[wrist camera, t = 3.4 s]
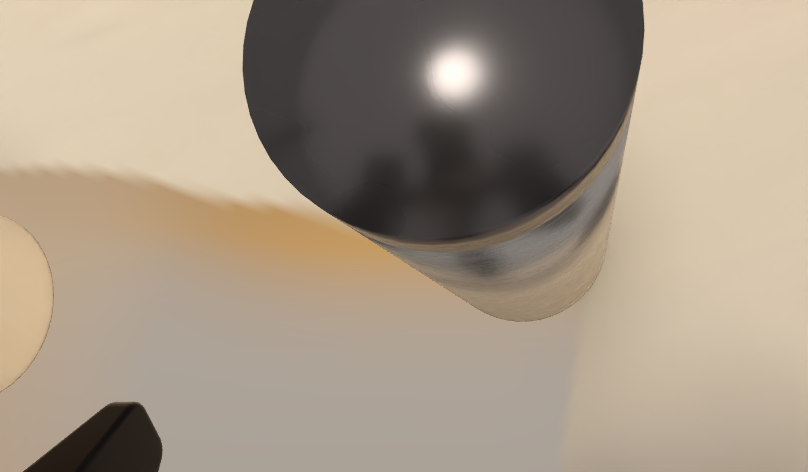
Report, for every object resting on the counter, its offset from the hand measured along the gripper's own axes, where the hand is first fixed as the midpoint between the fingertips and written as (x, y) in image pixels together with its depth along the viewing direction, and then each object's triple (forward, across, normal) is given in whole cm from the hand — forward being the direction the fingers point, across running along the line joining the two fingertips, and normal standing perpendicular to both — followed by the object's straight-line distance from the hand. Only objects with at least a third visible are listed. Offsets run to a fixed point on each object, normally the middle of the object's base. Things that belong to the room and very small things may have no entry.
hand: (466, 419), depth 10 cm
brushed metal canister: (+11, 0, +5) cm, 12 cm away
